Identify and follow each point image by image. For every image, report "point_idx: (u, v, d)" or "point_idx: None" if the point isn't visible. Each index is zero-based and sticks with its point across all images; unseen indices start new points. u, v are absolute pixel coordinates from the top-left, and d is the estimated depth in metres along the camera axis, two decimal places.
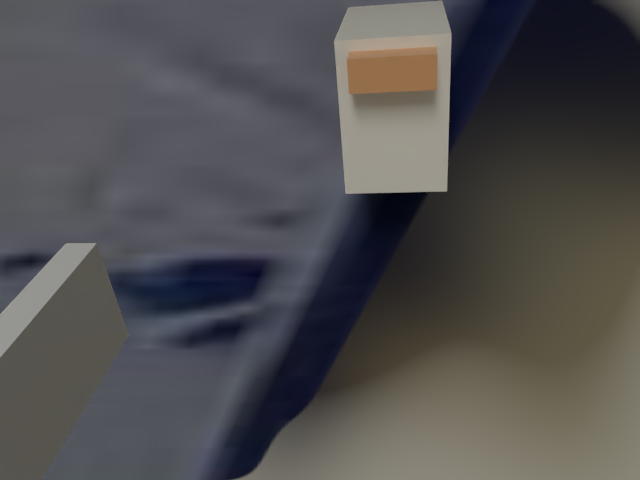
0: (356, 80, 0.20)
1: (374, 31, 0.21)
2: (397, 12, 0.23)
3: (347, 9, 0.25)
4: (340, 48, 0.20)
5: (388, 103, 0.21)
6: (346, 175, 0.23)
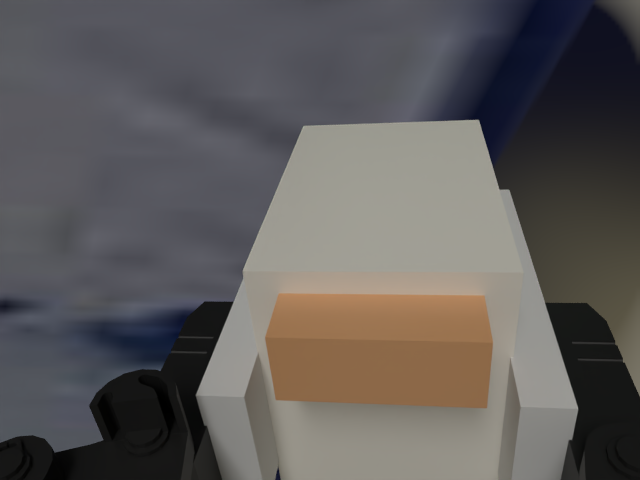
0: (291, 377, 0.08)
1: (340, 234, 0.09)
2: (393, 155, 0.12)
3: (300, 134, 0.13)
4: (258, 286, 0.09)
5: None
6: None
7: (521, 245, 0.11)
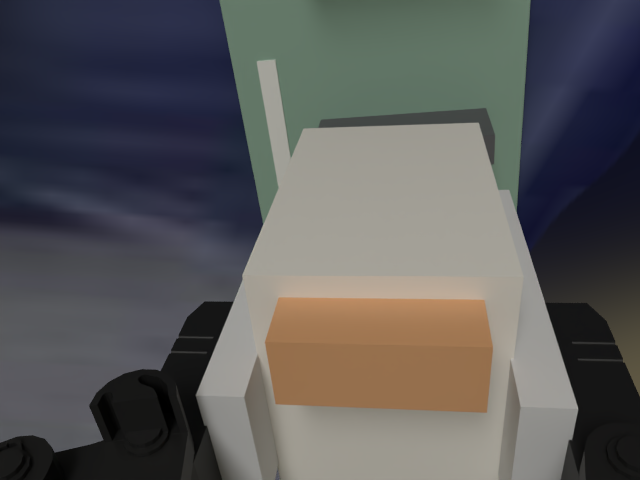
0: (291, 381, 0.08)
1: (340, 238, 0.09)
2: (393, 158, 0.12)
3: (300, 136, 0.13)
4: (258, 290, 0.09)
5: None
6: None
7: (521, 245, 0.11)
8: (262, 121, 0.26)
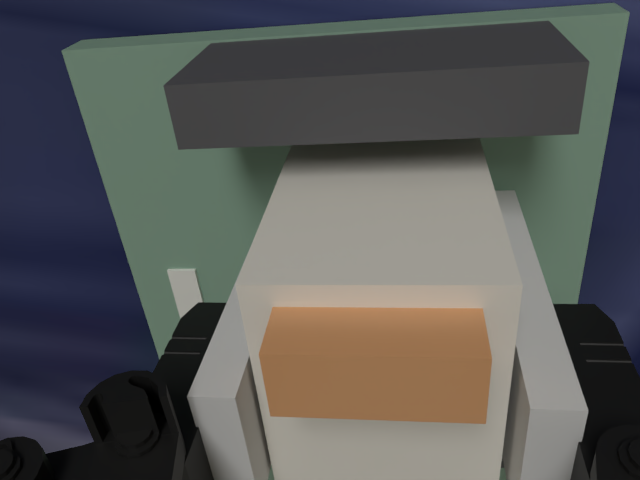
0: (286, 393, 0.08)
1: (335, 245, 0.09)
2: (389, 160, 0.12)
3: None
4: (251, 299, 0.09)
5: None
6: None
7: (528, 246, 0.11)
8: None
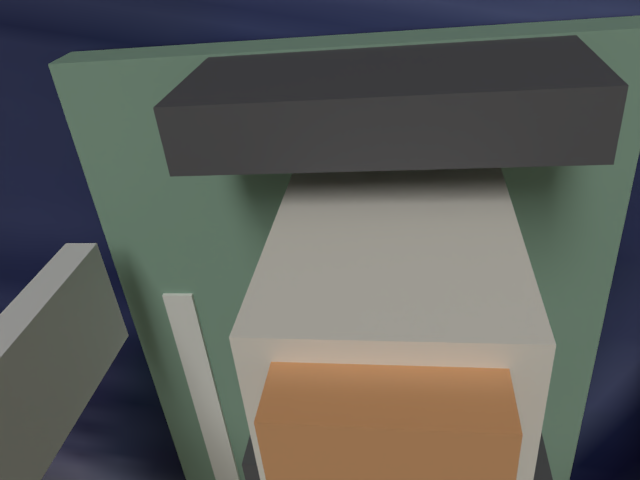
0: (285, 463, 0.07)
1: (341, 289, 0.08)
2: (401, 187, 0.11)
3: None
4: (247, 353, 0.08)
5: None
6: None
7: None
8: (177, 367, 0.17)
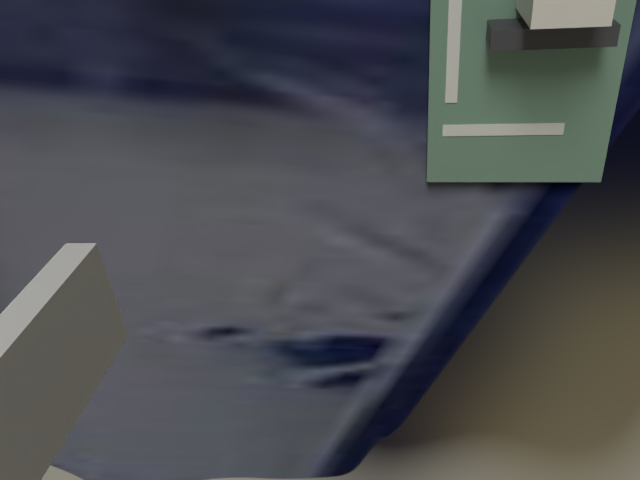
0: None
1: None
2: None
3: None
4: None
5: None
6: (533, 13, 0.30)
7: None
8: (444, 20, 0.37)
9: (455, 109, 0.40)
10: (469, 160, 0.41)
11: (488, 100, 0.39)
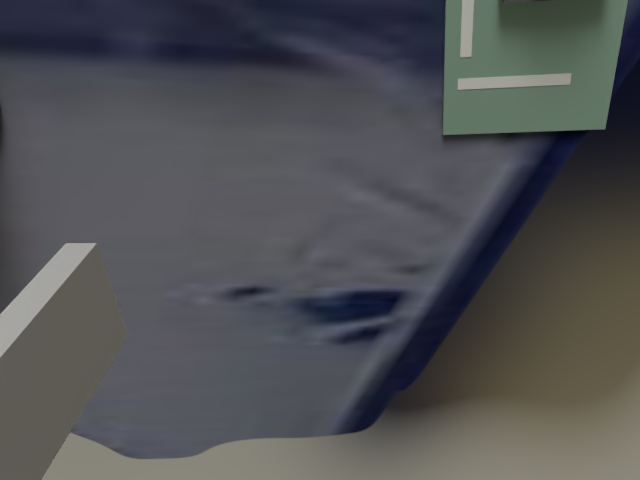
0: None
1: None
2: None
3: None
4: None
5: None
6: None
7: None
8: None
9: (469, 63, 0.43)
10: (482, 112, 0.44)
11: (500, 53, 0.42)
